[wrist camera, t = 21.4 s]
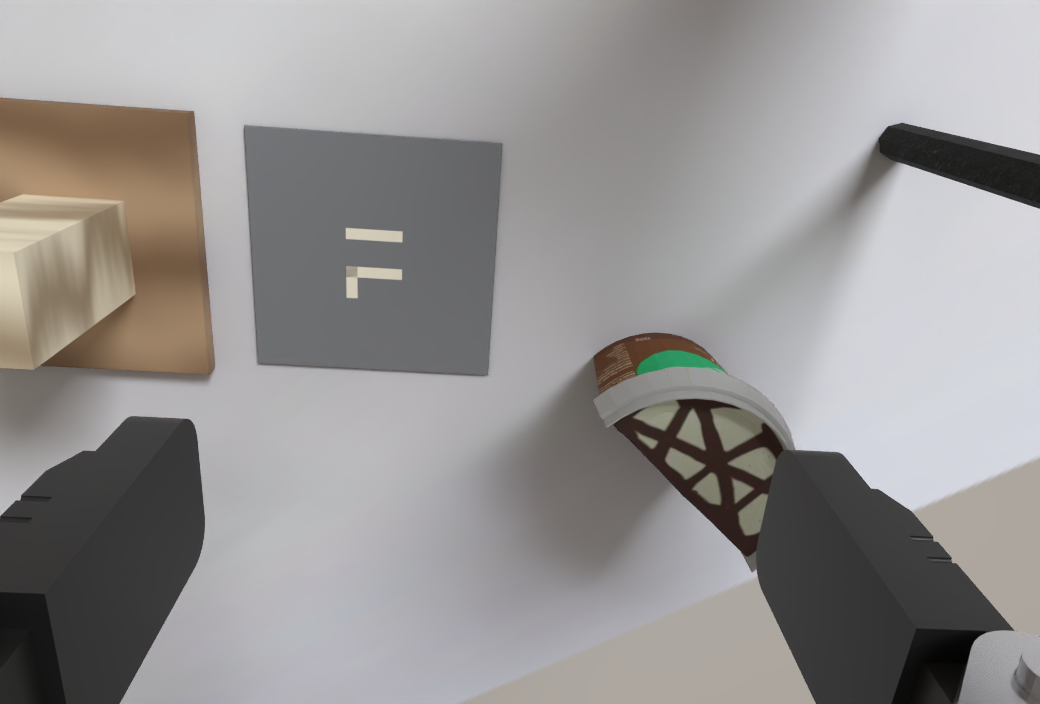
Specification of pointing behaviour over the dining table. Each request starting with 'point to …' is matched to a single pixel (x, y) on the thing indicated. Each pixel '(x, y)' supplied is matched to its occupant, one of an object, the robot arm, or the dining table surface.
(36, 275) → the birch block
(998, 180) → the solar garden light
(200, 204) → the walnut board
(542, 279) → the dining table surface
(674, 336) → the food container
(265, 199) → the tile
